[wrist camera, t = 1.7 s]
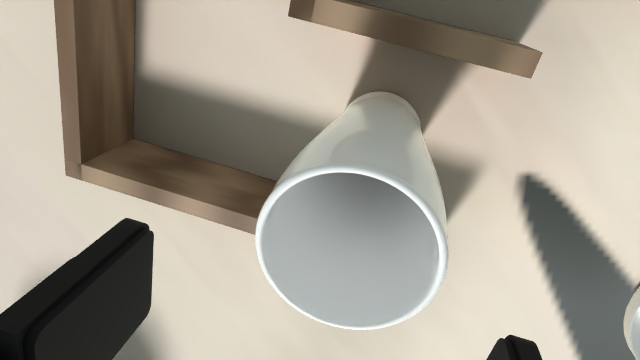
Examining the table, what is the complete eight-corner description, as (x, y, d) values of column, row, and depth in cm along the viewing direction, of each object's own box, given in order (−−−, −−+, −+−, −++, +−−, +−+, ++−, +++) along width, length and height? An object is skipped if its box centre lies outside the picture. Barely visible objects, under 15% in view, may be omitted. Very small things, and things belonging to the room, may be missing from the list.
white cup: (327, 79, 26) (238, 160, 13) (434, 76, 25) (458, 163, 12) (332, 175, 29) (263, 324, 16) (430, 177, 28) (445, 343, 14)
